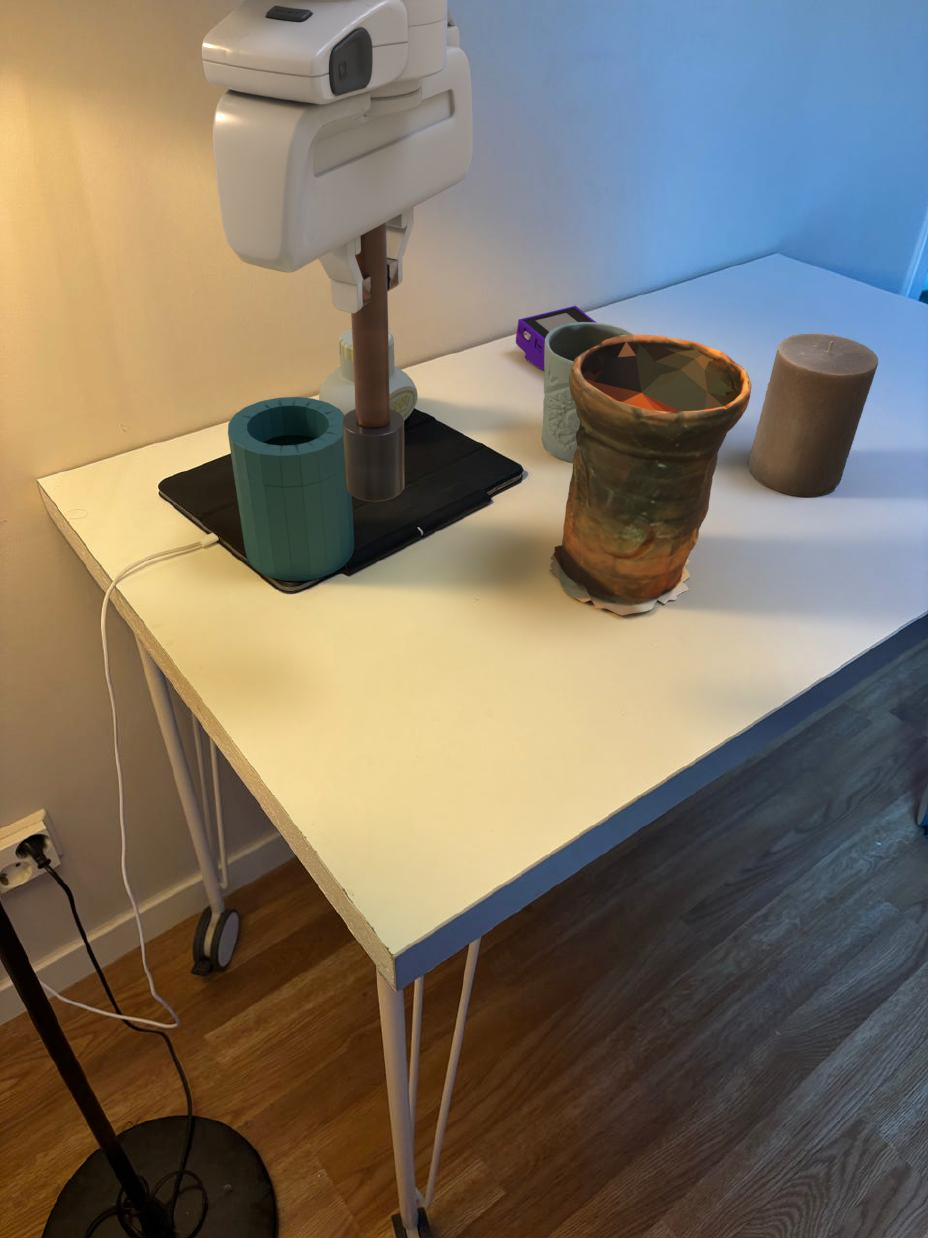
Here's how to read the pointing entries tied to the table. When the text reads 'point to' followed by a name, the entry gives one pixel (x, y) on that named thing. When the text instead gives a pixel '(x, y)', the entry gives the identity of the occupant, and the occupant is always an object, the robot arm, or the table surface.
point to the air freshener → (342, 388)
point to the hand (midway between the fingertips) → (368, 297)
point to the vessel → (643, 466)
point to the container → (292, 487)
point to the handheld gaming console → (544, 331)
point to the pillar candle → (811, 413)
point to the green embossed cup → (566, 382)
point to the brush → (373, 389)
